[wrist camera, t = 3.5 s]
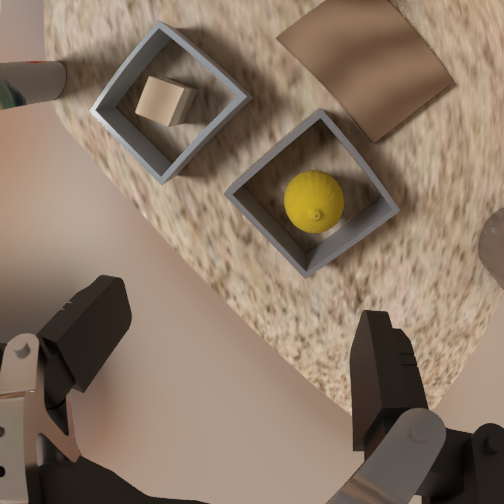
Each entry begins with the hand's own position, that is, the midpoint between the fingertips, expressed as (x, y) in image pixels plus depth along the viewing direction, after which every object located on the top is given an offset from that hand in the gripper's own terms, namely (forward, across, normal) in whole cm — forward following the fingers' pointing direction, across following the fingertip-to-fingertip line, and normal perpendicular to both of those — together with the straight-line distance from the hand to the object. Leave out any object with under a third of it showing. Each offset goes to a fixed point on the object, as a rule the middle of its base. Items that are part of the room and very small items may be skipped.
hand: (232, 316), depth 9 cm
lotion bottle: (+23, +30, -13) cm, 40 cm away
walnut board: (+23, -8, -13) cm, 28 cm away
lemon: (+24, -3, +2) cm, 24 cm away
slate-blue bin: (+23, +12, -7) cm, 27 cm away
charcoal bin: (+23, -3, +2) cm, 24 cm away
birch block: (+23, +12, -7) cm, 27 cm away
